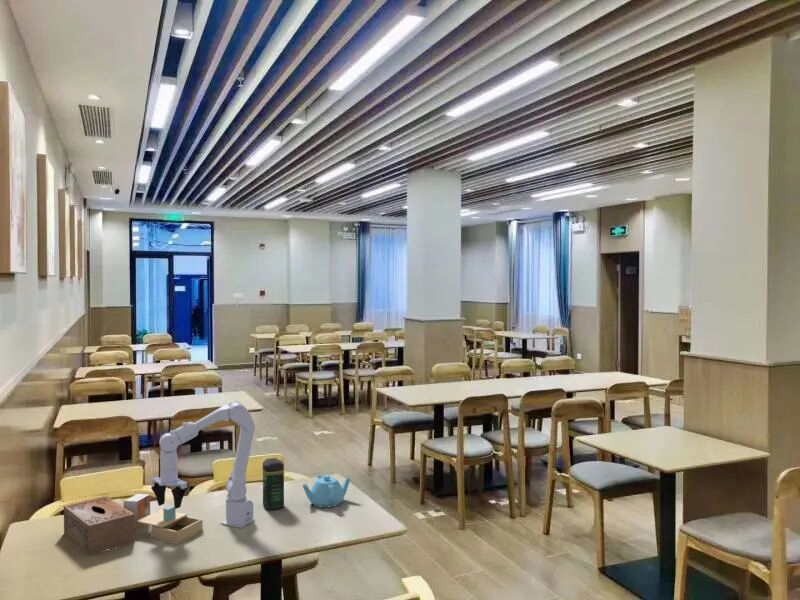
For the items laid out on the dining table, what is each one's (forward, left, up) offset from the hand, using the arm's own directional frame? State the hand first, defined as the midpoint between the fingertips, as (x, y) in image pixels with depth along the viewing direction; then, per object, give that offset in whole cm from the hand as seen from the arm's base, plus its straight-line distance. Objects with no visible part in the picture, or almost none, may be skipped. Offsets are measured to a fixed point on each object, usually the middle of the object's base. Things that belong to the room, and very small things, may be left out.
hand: (169, 506), depth 211 cm
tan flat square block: (+4, 0, -5) cm, 6 cm away
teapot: (-35, -48, -10) cm, 61 cm away
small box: (+16, 0, -10) cm, 18 cm away
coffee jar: (-18, -36, -10) cm, 42 cm away
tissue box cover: (+20, +13, -10) cm, 26 cm away
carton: (-3, 0, -9) cm, 10 cm away
